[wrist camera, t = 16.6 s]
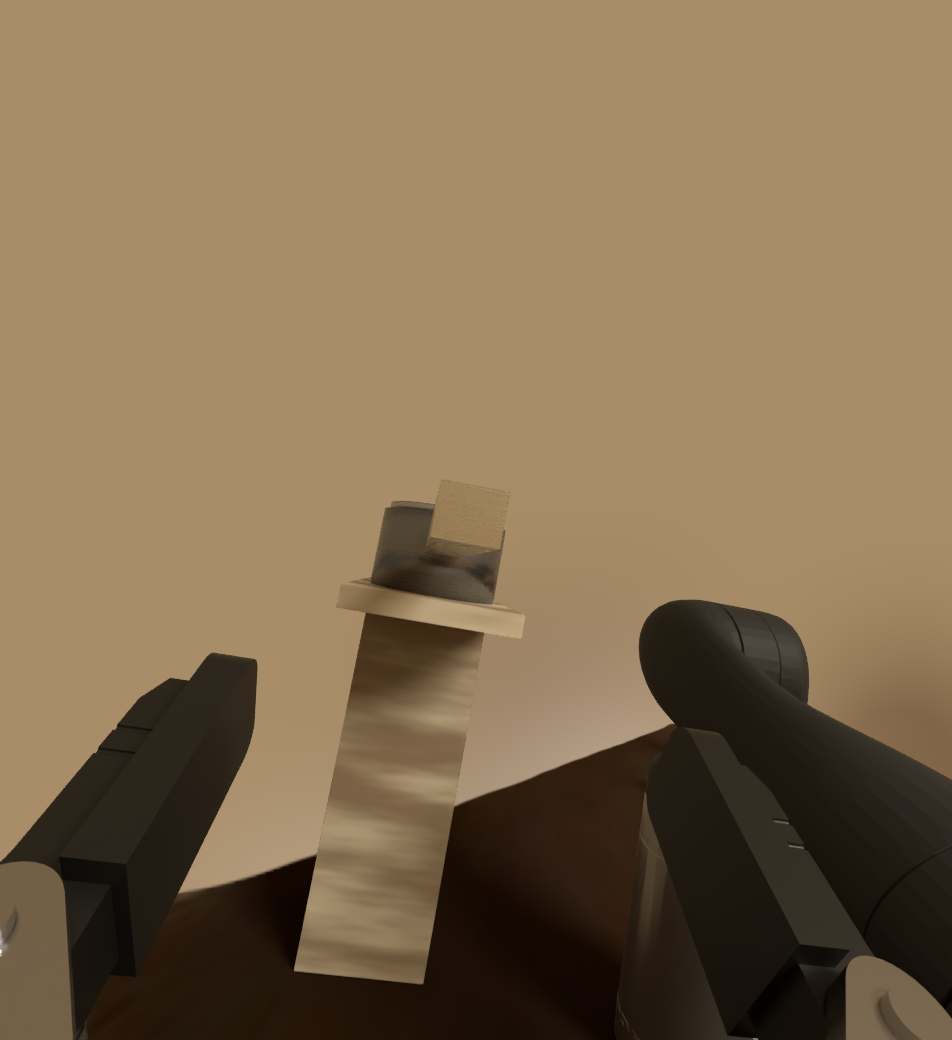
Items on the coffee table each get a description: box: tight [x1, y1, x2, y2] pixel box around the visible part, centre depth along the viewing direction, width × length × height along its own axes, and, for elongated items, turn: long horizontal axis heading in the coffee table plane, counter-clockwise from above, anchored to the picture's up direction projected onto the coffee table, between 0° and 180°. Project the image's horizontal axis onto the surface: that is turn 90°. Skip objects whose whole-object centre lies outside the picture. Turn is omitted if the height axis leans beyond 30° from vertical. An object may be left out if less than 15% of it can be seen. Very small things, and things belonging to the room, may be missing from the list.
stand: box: [294, 577, 525, 984], centre depth 41 cm, size 22×12×30 cm, turn 5°
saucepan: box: [370, 479, 510, 605], centre depth 31 cm, size 29×10×7 cm, turn 5°
